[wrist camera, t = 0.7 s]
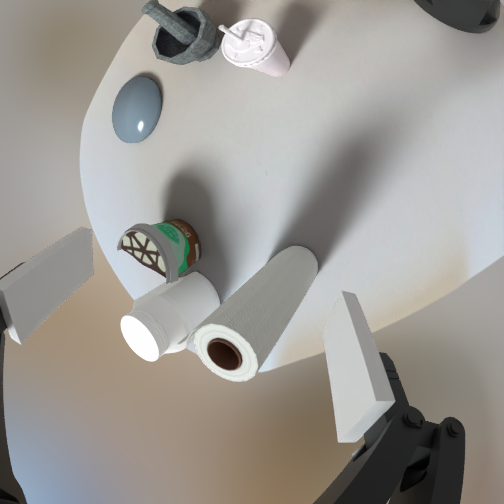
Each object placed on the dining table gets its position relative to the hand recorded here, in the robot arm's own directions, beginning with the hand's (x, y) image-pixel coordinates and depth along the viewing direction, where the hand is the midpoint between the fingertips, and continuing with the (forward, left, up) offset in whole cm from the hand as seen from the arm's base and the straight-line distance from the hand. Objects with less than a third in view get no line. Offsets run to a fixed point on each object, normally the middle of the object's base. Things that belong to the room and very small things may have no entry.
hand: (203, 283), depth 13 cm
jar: (+23, -17, -26) cm, 39 cm away
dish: (-9, -36, -26) cm, 45 cm away
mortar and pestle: (-21, -23, -26) cm, 41 cm away
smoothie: (-18, -10, -26) cm, 33 cm away
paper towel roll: (+9, -1, -26) cm, 28 cm away
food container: (+11, -21, -26) cm, 35 cm away
